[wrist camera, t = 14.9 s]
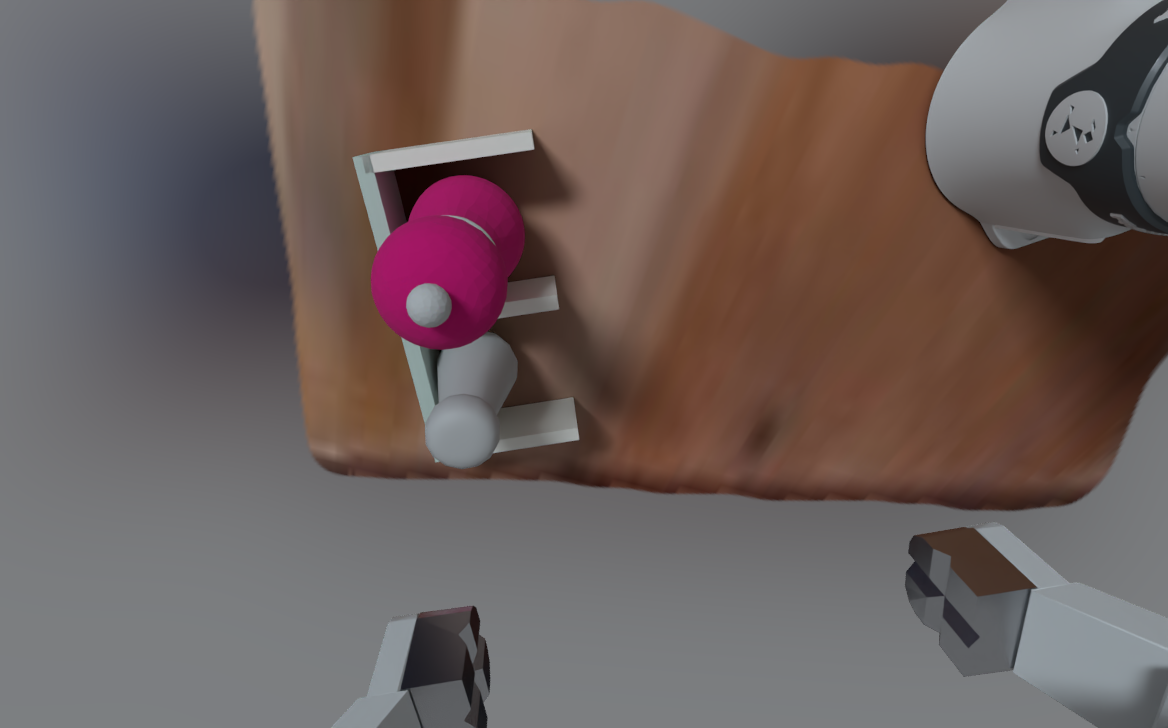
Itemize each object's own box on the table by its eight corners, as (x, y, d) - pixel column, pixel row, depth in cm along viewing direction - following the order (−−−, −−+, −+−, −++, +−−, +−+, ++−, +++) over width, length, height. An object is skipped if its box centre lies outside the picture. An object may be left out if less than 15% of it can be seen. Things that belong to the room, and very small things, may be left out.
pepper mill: (399, 227, 41) (290, 319, 23) (465, 145, 39) (405, 175, 21) (481, 294, 43) (442, 427, 25) (547, 219, 42) (556, 304, 23)
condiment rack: (531, 129, 39) (531, 131, 35) (575, 408, 48) (579, 439, 43) (373, 151, 39) (352, 157, 35) (445, 428, 47) (435, 462, 43)
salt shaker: (527, 331, 45) (524, 410, 33) (508, 397, 47) (500, 494, 35) (449, 311, 44) (418, 386, 32) (434, 380, 46) (399, 474, 34)
